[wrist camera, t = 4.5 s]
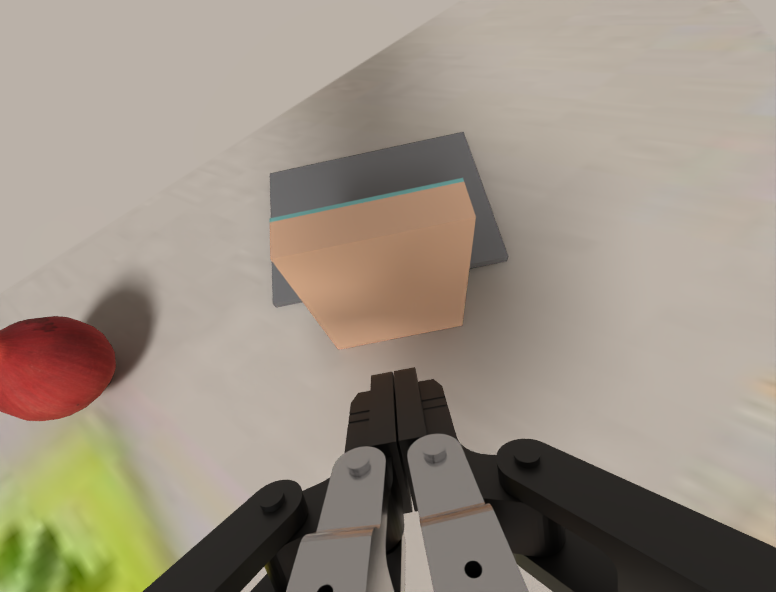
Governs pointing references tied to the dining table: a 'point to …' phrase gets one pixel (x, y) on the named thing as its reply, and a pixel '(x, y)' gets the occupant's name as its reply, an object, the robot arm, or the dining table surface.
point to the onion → (52, 367)
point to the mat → (386, 190)
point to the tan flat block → (380, 262)
